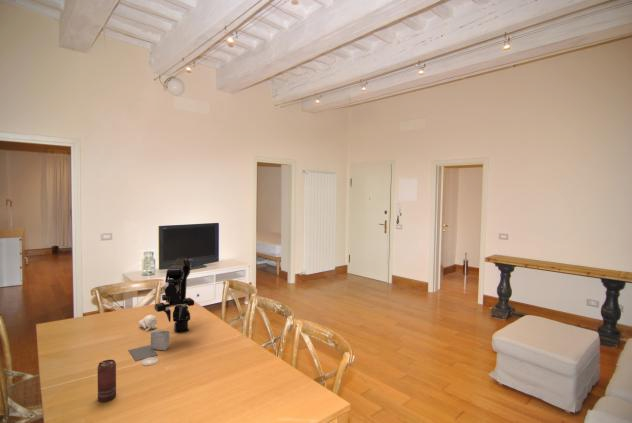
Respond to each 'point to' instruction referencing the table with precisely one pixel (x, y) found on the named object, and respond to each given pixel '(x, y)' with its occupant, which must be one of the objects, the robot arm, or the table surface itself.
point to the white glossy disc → (149, 361)
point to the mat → (142, 353)
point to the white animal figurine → (148, 322)
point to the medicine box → (160, 340)
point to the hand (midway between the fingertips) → (174, 320)
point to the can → (106, 380)
